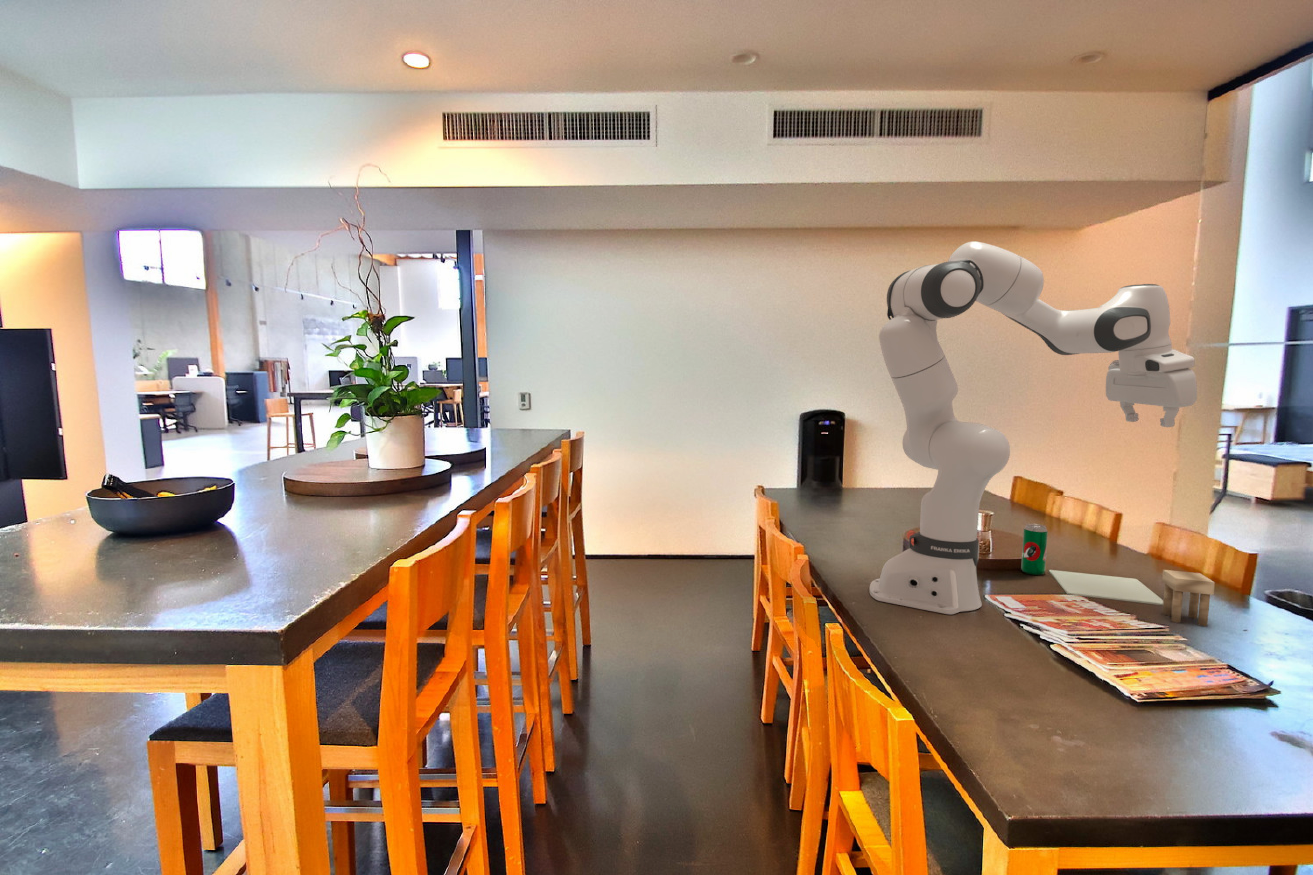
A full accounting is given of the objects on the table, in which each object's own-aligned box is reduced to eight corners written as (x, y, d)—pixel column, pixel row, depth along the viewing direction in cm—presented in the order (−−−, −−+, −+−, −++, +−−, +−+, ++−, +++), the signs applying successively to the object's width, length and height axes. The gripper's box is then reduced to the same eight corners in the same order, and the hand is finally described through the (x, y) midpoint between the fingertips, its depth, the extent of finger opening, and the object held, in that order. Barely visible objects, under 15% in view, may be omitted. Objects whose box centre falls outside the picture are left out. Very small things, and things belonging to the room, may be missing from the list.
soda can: (1048, 576, 146) (1051, 528, 145) (1025, 575, 147) (1028, 527, 146) (1039, 570, 151) (1042, 523, 150) (1017, 568, 152) (1020, 522, 151)
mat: (1067, 594, 133) (1067, 592, 133) (1048, 571, 150) (1048, 569, 150) (1167, 605, 127) (1167, 604, 127) (1136, 580, 143) (1136, 578, 143)
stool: (1171, 622, 118) (1175, 578, 117) (1159, 611, 123) (1163, 569, 122) (1210, 627, 115) (1214, 582, 115) (1196, 616, 121) (1200, 573, 120)
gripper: (1095, 362, 137) (1099, 421, 139) (1169, 364, 117) (1174, 432, 119) (1122, 357, 137) (1127, 416, 139) (1202, 358, 116) (1206, 427, 118)
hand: (1149, 423), depth 128 cm, fingers open, 8 cm apart
